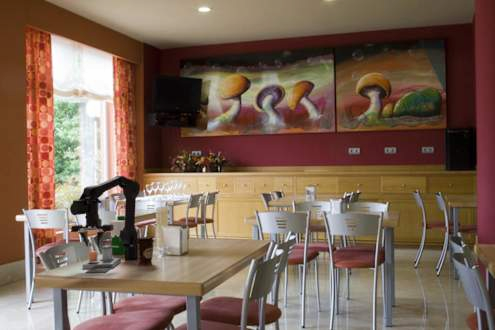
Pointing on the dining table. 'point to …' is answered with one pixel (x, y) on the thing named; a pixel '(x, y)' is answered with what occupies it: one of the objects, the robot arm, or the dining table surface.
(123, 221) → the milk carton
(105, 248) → the cartridge
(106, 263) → the housing
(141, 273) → the dining table surface
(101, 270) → the mat
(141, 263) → the coffee cup
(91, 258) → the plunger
